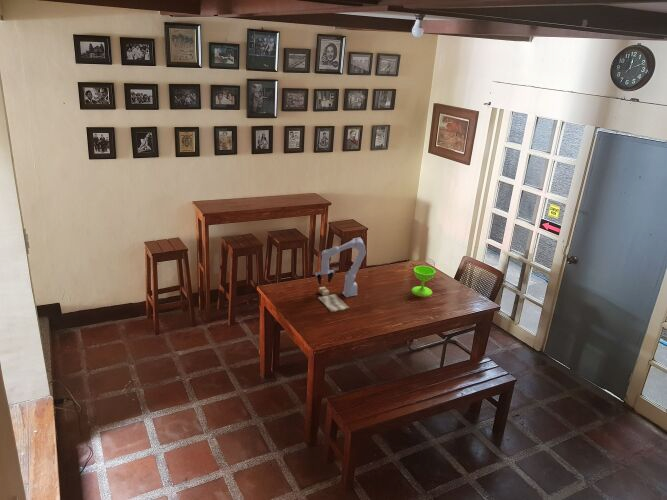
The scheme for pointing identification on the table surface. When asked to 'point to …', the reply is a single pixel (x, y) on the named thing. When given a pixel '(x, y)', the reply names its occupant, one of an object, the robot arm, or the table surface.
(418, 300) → the table surface
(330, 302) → the birch board
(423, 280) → the wineglass
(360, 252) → the robot arm
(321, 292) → the block
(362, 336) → the table surface
